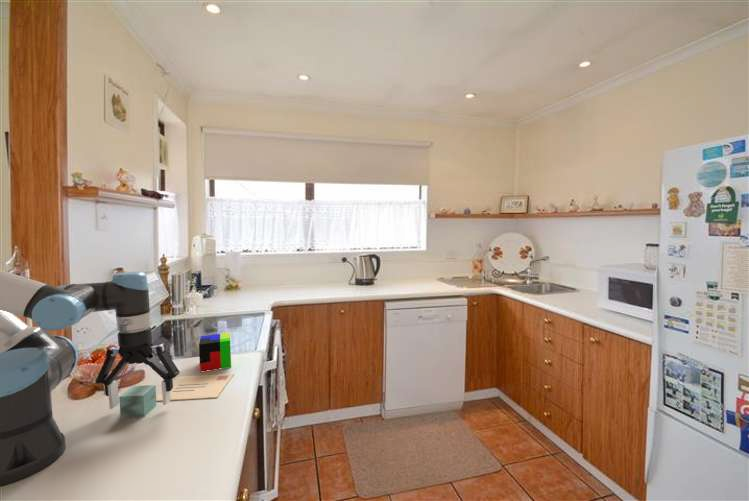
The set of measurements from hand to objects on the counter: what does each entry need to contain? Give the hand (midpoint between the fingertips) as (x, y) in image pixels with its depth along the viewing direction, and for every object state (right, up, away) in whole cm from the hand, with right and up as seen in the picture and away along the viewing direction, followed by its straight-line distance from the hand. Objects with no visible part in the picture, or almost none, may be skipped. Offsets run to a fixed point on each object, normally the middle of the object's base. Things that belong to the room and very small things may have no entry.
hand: (141, 404), depth 93 cm
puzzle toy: (+6, 0, +31) cm, 32 cm away
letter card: (+8, -1, +14) cm, 16 cm away
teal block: (0, -2, 0) cm, 2 cm away
